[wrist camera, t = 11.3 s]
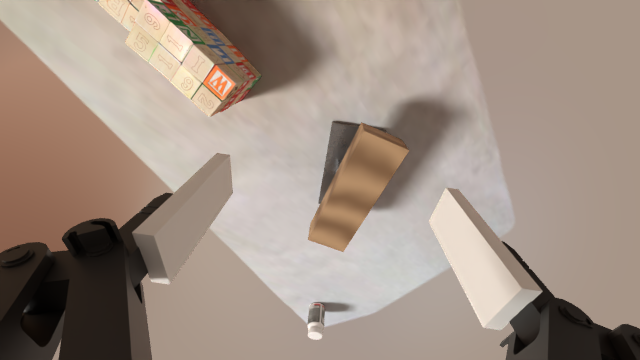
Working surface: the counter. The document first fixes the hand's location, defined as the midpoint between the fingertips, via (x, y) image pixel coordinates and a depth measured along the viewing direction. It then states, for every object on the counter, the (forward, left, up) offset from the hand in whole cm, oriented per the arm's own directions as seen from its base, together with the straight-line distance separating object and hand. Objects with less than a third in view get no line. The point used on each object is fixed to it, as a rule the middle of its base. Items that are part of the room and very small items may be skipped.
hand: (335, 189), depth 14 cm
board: (+13, +5, -23) cm, 27 cm away
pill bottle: (+61, +5, -31) cm, 68 cm away
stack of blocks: (-6, -23, -31) cm, 39 cm away
